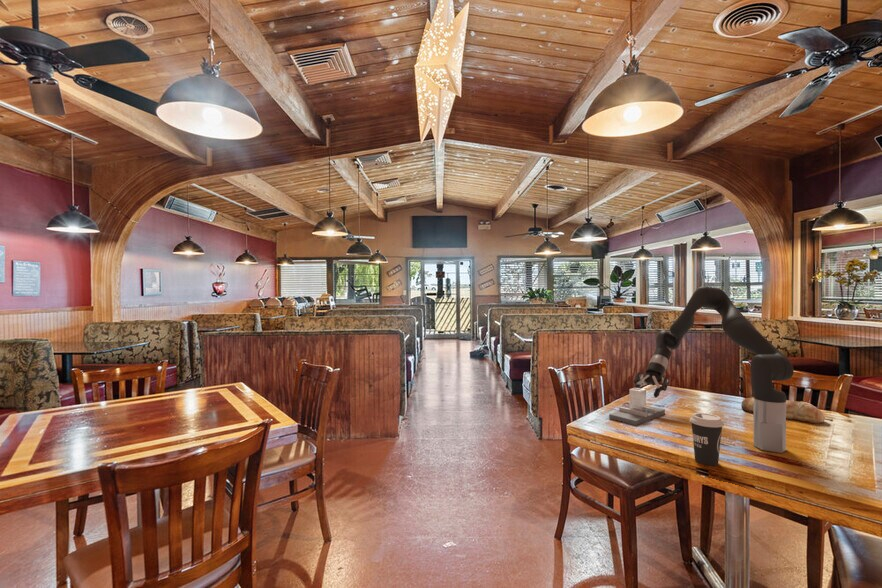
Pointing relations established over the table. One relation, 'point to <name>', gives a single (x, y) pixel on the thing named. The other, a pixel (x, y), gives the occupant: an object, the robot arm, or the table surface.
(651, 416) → the plate
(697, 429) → the coffee cup
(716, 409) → the table surface
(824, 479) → the table surface
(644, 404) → the block
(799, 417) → the bread loaf
